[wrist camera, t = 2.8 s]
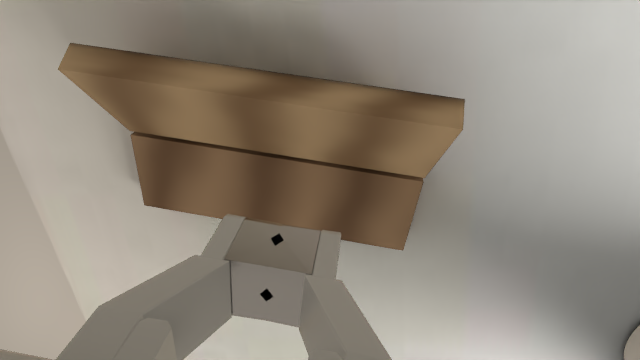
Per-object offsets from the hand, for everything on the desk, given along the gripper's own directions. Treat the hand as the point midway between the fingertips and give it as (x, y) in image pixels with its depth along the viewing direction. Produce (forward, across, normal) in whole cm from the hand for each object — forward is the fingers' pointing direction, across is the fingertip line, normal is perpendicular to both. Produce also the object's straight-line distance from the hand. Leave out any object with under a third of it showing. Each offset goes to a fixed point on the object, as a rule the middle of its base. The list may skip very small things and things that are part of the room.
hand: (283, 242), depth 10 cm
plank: (+13, +4, +1) cm, 13 cm away
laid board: (+15, +4, +8) cm, 18 cm away
